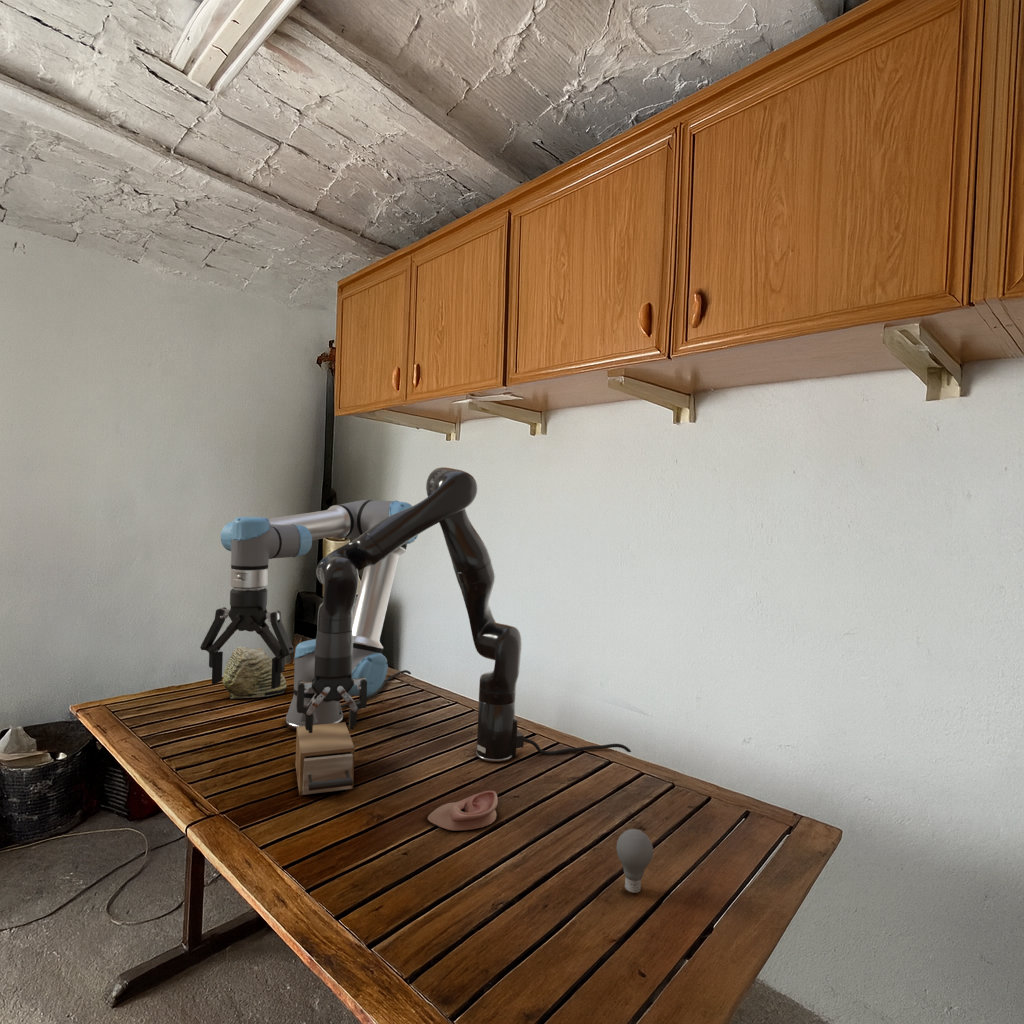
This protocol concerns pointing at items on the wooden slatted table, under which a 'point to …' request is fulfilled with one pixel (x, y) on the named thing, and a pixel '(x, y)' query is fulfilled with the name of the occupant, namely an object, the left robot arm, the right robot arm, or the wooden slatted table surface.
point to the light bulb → (634, 857)
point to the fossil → (250, 674)
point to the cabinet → (321, 745)
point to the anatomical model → (467, 812)
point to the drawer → (327, 773)
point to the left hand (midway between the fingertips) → (246, 684)
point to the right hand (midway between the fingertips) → (330, 730)
